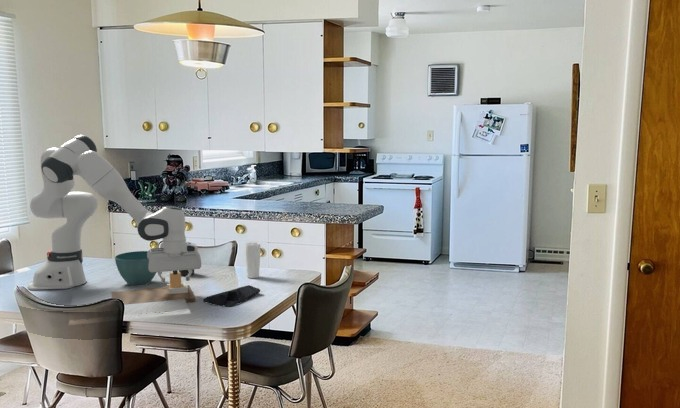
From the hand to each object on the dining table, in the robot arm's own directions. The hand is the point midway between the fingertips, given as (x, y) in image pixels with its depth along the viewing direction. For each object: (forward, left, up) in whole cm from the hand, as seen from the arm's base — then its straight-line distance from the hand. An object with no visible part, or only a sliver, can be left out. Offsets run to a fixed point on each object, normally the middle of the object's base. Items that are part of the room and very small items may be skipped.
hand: (175, 281), depth 246 cm
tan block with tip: (0, 0, -4) cm, 4 cm away
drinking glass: (+35, +18, -6) cm, 40 cm away
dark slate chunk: (+20, -13, -6) cm, 25 cm away
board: (-9, -3, -5) cm, 11 cm away
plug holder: (0, 0, -4) cm, 4 cm away
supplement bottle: (+8, +33, -6) cm, 34 cm away
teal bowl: (-13, +23, -6) cm, 27 cm away
